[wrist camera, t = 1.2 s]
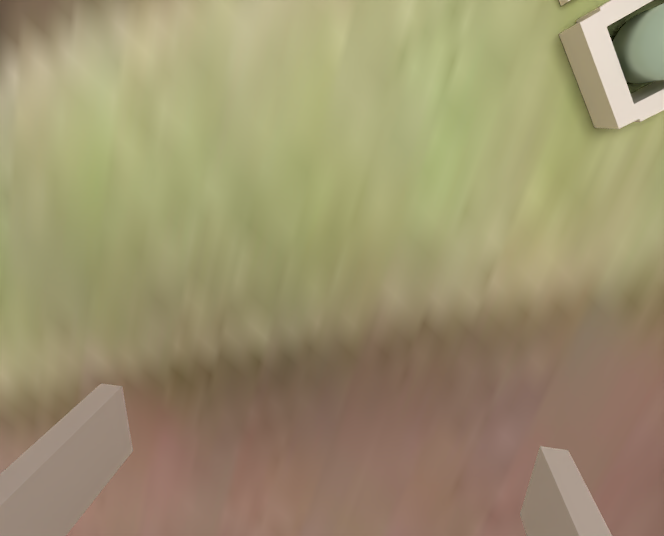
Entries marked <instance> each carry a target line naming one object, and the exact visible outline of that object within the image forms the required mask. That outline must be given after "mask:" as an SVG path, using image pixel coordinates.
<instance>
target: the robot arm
mask: <svg viewBox="0 0 664 536" xmlns="http://www.w3.org/2000/svg"><path fill="white" fill-rule="evenodd" d="M132 452H133V448H132V442H131V436H130V430H129V424H128V418H127V412H126V406H125V399H124V393H123V387H122V386H116V385H109V384H102V383H101V384H100V385H99V386H98V387H96V388H95V389H94V390H93V391H92V392H91V393H90V394H89V395H87V396H86V397H85V398H84V399H83V400H82V401H81V402H80V403H79V404H77V405H76V406H75V407H74V408H73V409H72V410H71V411H70V412H69V413H67V414H66V415H65V416H64V417H63V418H62V419H61V420H60V421H59V422H57V423H56V424H55V425H54V426H53V427H52V428H51V429H50V430H49V431H47V432H46V433H45V434H44V435H43V436H42V437H41V438H40V439H39V440H37V441H36V442H35V443H34V444H33V445H32V446H31V447H30V448H29V449H27V450H26V451H25V452H24V453H23V454H22V455H21V456H20V457H19V458H17V459H16V460H15V461H14V462H13V463H12V464H11V465H10V466H9V467H7V468H6V469H5V470H4V471H3V472H2V473H1V474H0V536H66V535H67V534H68V532H69V531H70V530H71V529H72V527H73V526H74V525H75V524H76V522H77V521H78V520H79V519H80V517H81V516H82V515H83V513H84V512H85V511H86V510H87V508H88V507H89V506H90V505H91V503H92V502H93V501H94V500H95V498H96V497H97V496H98V495H99V493H100V492H101V491H102V489H103V488H104V487H105V486H106V484H107V483H108V482H109V481H110V479H111V478H112V477H113V476H114V474H115V473H116V472H117V471H118V469H119V468H120V467H121V465H122V464H123V463H124V462H125V460H126V459H127V458H128V457H129V455H130V454H131V453H132ZM520 516H521V519H522V522H523V526H524V529H525V532H526V535H527V536H612V535H611V533H610V531H609V529H608V527H607V525H606V523H605V521H604V519H603V517H602V515H601V513H600V511H599V509H598V507H597V505H596V504H595V502H594V500H593V498H592V496H591V494H590V492H589V490H588V488H587V486H586V484H585V482H584V480H583V478H582V476H581V474H580V472H579V470H578V469H577V467H576V465H575V463H574V461H573V459H572V457H571V455H570V453H569V451H568V450H563V449H556V448H549V447H542V446H540V448H539V452H538V455H537V459H536V462H535V465H534V469H533V472H532V475H531V479H530V482H529V486H528V489H527V492H526V496H525V499H524V502H523V506H522V509H521V513H520Z"/></svg>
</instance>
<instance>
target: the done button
mask: <svg viewBox="0 0 664 536" xmlns="http://www.w3.org/2000/svg"><path fill="white" fill-rule="evenodd" d="M613 46H614V49H615V52H616V55H617V58H618V60H619V63H620V66H621V69H622V72H623V74H624V77H625V80H626V82H629V83H637V84H638V83H647V82H654V81H661V80H664V3H663V4H661V5H658V6H656V7H654V8H651V9H649V10H647V11H645V12H642V13H640V14H638V15H636V16H634V17H633V18H631V19H630V20H629V21H627V22H626V23H625V24H624V25H623V26H622V27H621V29H620V30H619V31H618V33H617V34H616V36H615V38H614V40H613Z"/></svg>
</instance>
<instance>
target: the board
mask: <svg viewBox="0 0 664 536" xmlns="http://www.w3.org/2000/svg"><path fill="white" fill-rule="evenodd" d="M569 1H570V0H559V2H560V5H561V6H562V5H564V4H565V3H567V2H569Z"/></svg>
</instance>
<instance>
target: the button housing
mask: <svg viewBox="0 0 664 536" xmlns="http://www.w3.org/2000/svg"><path fill="white" fill-rule="evenodd" d="M651 1H653V0H610V1H608V2H606V3H605V4H603V5H601V6H599V7H598V8H596V9H594V10H593V11H591V12H589V13H588V14H586V15H584V16H583V17H581V18H579V19H577V20H576V23H577V24H575V25H573V26H572V27H570V28H568V29H566V30H565V31H563V32H561V33H560V34H559V36H560V39H561V41H562V44H563V47H564V49H565V52H566V54H567V57H568V60H569V62H570V65H571V67H572V70H573V73H574V75H575V78H576V80H577V83H578V86H579V88H580V91H581V93H582V96H583V99H584V101H585V104H586V106H587V109H588V112H589V114H590V117H591V119H592V122H593V125H594V127H595V128H612V129H620V128H622V127H624V126H626V125H628V124H630V123H632V122H641V121H643V120H645V119H647V118H649V117H651V116H653V115H655V114H657V113H659V112H661V111H663V110H664V80H661V81H654V82H652V83H651V84H649V85H647V86H645V87H643V88H641V89H639V90H637V91H635V92H633V93H631V94H630V91H629V88H628V86H627V83H626V80H625V77H624V74H623V72H622V69H621V66H620V63H619V60H618V58H617V55H616V52H615V49H614V46H613V43H612V41H611V38H610V35H609V32H608V29H607V26H609V25H611V24H612V23H614V22H616V21H618V20H619V19H621V18H623V17H625V16H626V15H628V14H630V13H632V12H633V11H635V10H637V9H639V8H640V7H642V6H644V5H646V4H647V3H649V2H651Z"/></svg>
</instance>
